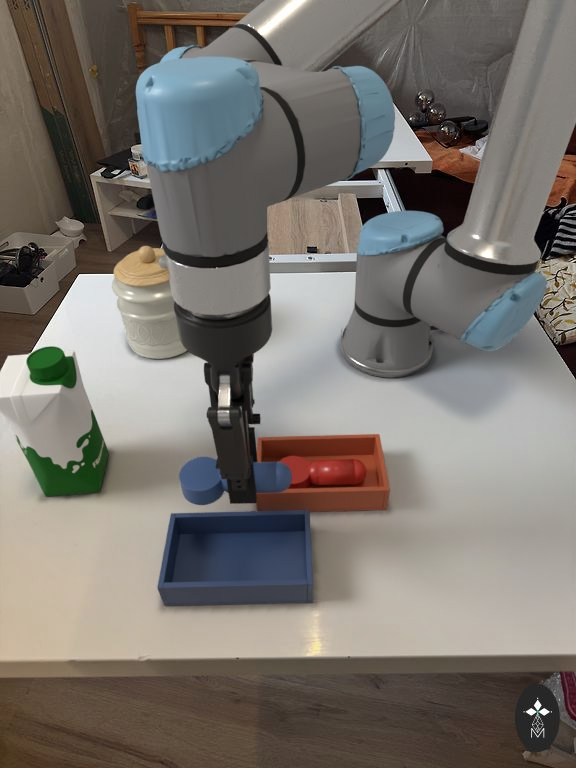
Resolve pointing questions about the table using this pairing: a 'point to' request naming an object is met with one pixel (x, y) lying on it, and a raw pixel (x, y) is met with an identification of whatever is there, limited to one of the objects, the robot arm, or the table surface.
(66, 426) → the milk carton
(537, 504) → the table surface
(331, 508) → the bin red
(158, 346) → the jar
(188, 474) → the blue toy rattle
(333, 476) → the red disc-headed bar
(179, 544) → the bin blue
